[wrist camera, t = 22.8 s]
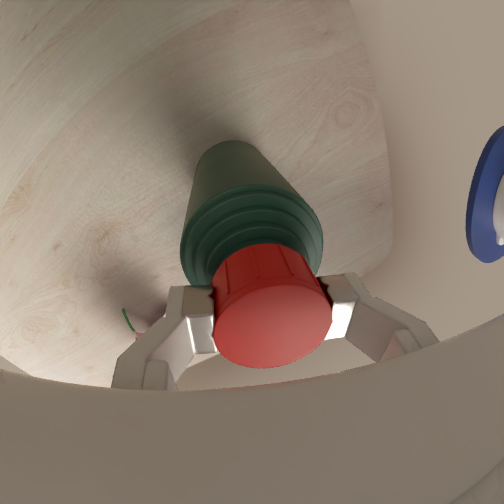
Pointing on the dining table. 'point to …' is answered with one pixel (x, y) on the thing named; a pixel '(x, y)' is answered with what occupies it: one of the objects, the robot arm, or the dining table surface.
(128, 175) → the dining table surface
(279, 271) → the cap
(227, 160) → the bottle
